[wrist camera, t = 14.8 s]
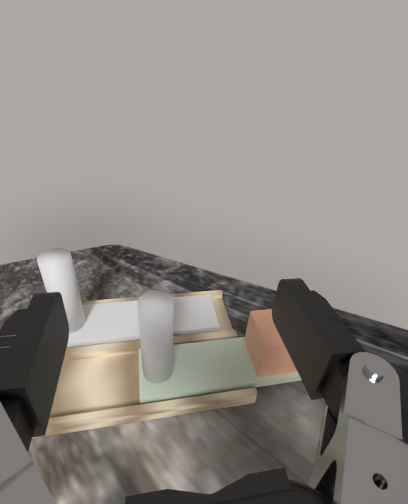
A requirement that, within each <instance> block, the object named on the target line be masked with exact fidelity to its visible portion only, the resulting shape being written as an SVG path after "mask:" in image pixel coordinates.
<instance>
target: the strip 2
mask: <svg viewBox="0 0 408 504" xmlns="http://www.w3.org/2000/svg"><path fill="white" fill-rule="evenodd" d="M137 308H138V320H139V331H140V343H141V349H139V395H140V404H147V403H154V402H161V401H167V400H174V399H181V398H187V397H194V396H201V395H208V394H214V393H221V392H228V391H234V390H241V389H248V388H255V387H261V386H268V385H275V384H281V383H288V382H295V381H302V380H301V378H300V376H299V374H298V372H293V373H286V374H279V375H272V376H265V377H257V374H256V371H255V369H254V366H253V363H252V360H251V358H250V355H249V352H248V350H247V347H246V344H245V341H244V338H245V337H239V338H230V339H221V340H213V341H204V342H195V343H186V344H178V345H173V311H174V301H173V298H172V296H171V295H170V294H168V293H166V292H164V291H159V290H154V291H149V292H146V293H144V294H143V295H142V296H140V298H139V299H138V302H137Z"/></svg>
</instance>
